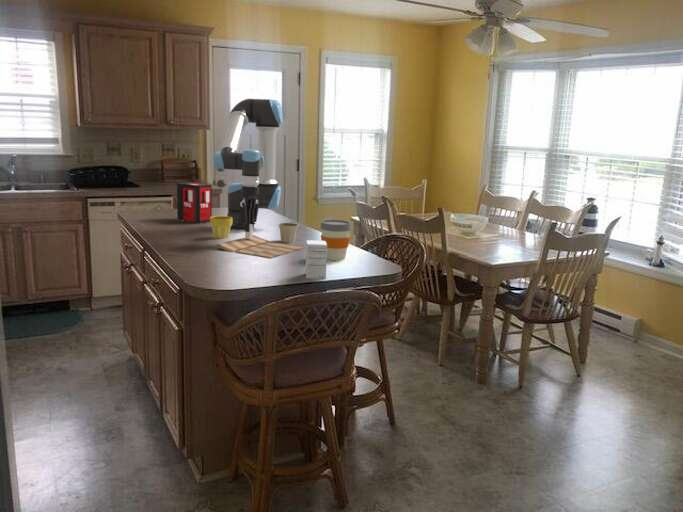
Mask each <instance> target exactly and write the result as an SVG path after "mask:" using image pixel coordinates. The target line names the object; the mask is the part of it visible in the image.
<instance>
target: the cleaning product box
mask: <svg viewBox="0 0 683 512" xmlns="http://www.w3.org/2000/svg"><path fill="white" fill-rule="evenodd" d="M212 186H213V185H212V184H206V183H199V182H198V183H197V182H192V181H191V182H190V181H188V182H177V183H176V196H177V198H176V199H177V200H176V204H177V207H176V209H177V213H176V214H177V220H178V219H179V220H184V221H183V222H185V221H190V222H189V223H191V222H194V223H193V224H196V223H199V224H198V225H201V224H200V223H203V224H207V223H206V222H209V223H210V217H212V216H213V215H212V214H213V213H212V212H213V211H212V209H213V208H212V205H213V204H212V198H213V197H212V195H213V194H212V191H213V190H212ZM179 220H178V221H179Z"/></svg>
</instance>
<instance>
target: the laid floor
mask: <svg viewBox="0 0 683 512" xmlns="http://www.w3.org/2000/svg"><path fill="white" fill-rule="evenodd" d="M304 249H306V246H301V245H295V244H290V243H283V242H275V241H270V242H269V243H265V244H261V245H257V246H253V247H250V248H246V249H242V250H238V251H235V252H234V253H235V254H242V255H248V256H255V257H258V258H259V257H260V258H265V259H274V258H277V257H281V256H285V255H287V254H290V253H293V252H297V251H301V250H304Z"/></svg>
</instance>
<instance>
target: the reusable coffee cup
mask: <svg viewBox="0 0 683 512" xmlns="http://www.w3.org/2000/svg"><path fill="white" fill-rule="evenodd" d="M320 230H321V234H320V241H326V243H327V260H328V259H329V260H330V261H343V259H344V260H345V259H346V256H347V255H346V254H347V250H348V248H349V245H350V244H349V243H350V239H351V235H350V233H351V231H352V223H351V221H348V220H347V221H346V220H343V219H342V220H340V219H326V220H322V221H321V223H320ZM329 260H328V261H329Z"/></svg>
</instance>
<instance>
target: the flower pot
mask: <svg viewBox="0 0 683 512" xmlns="http://www.w3.org/2000/svg"><path fill="white" fill-rule="evenodd" d="M277 224H278V228H279V234H280V235H279V236H280V243H284V244H291V243H295V242H296V237H297V231H298V228H299V226H300V225H299V223H295V222H278V223H277Z"/></svg>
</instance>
